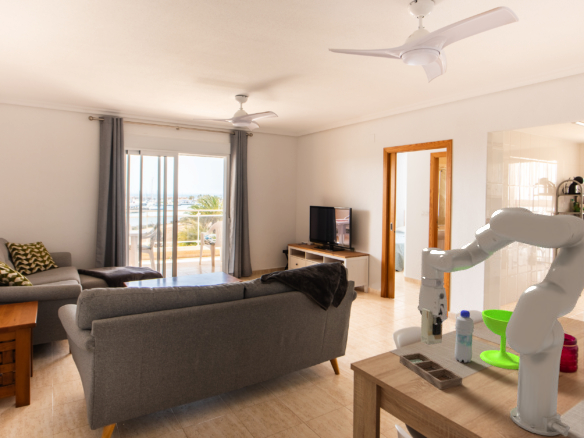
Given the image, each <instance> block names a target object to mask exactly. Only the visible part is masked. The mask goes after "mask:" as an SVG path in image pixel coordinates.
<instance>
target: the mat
mask: <svg viewBox="0 0 584 438" xmlns="http://www.w3.org/2000/svg"><path fill="white" fill-rule="evenodd" d="M409 361H411V362H412V363H417V362H422V360H420V359H415V360H409Z"/></svg>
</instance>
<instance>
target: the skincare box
mask: <svg viewBox="0 0 584 438" xmlns="http://www.w3.org/2000/svg"><path fill="white" fill-rule="evenodd" d="M437 319H438V317H437ZM420 320H421V322H420V342H422V343H424V344H425V345H437V344H443V323H442V324H441V334H440V335H433V334H432V331H433V324H434V320H433V315H431V311H429V310H427V309H424V308H422V315H421V319H420Z"/></svg>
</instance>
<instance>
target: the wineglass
mask: <svg viewBox="0 0 584 438" xmlns="http://www.w3.org/2000/svg"><path fill="white" fill-rule="evenodd" d="M512 313H513V311H511V310H506V309H493V308H492V309H491V308H490V309H484V310H482V311H481V317H482V320H483V323H484V325H485V326H486V328H487V329H488V330H489V331H491V332H492V333H494V334H495V335H498V336H500V345H499V348H500V349H499V350H497V349H496V350H495V349H491V350H490V349H489V350H484V351H482V352H481V353H479V358H480V359H481V360H482V361H483V362H484V361H485V362H484V363H486V364H489V365H490V366H493V367H497V368H501V369H506V370H514V371H515V370H519V358H520V355H516V354H514V353H512V352H509V351H506V349H507V339H506V328H507V325H508V322H509V320H510V318H511V315H512Z"/></svg>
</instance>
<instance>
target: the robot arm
mask: <svg viewBox="0 0 584 438" xmlns="http://www.w3.org/2000/svg"><path fill="white" fill-rule="evenodd" d="M474 234H475V235H474V236H475V239H474V240H472V241H471V242H470V243H468V244H466V245H464V246H463V247H460V248H455V249H448V250H447V249H446V250H443V249H442V248H439V247H425V248H423V249H422V250H421V277H420V279H421V283H420V288H419V293H418V294H419V295H418V306H417V310H418V312H419V313H420V316H422V308H424V309H427V310H429V311H431V315H433V320H434V324H433V331H432V334H433V335H440V334H441V324H442V325H443V322H445V321H446V320H448V316H447V315H448V298H447V291H446V288H445V287H444V285H445V282H444V280H445V279H444V277H445V276H444V275H445V274H444V273H455V272H458V271H460V272H461V271H467V270H469V269H471V268H473V267H475V266H477V265H479V264H481V263H482V262H484V261H485V260H486V261H487V259H489V258H490V257H492V256H493V255H494V254H495V253H496V252H498V251H500V250H502V249H503V248H505V247H508V246H509V245H511V244H512V243H515V242H517V243H521V244H524V245H525V244H526V245H530V246H534V247H538V248H542V249H543V248H544V249H558V248H559V252H558V253H557V254H556V256H555V258H554V259H553V260H552V262H551V264H550V266H549V269H548V271H547V273H546V275H545V277H544V279H543V280H542V281H540V282H539V283H535V284H532V285H530V286H528V287H526V289H524V290H523V292H522V293H521V295H520V296H519V297H518V299H517V303H516V305H515V306H514V309H513V311H512V312H513V313H512V315H511V318H510V320H509V322H508V325H507V328H506V343H507V344H508V345H509V347H510V349H512V350H513V351H514V352H516V353H518V354H519V357H520V358H519V369H518V373H517V374H518V377H517V392H516V393H517V396H516V397H517V398H516V406H515V407H513V408H512V409H511V410H510V412H509V413H510V414H509V415H510V419H511V420H512V422H513V423H515V424H516V425H517V426H519V428H522V429H523V430H526V431H529V432H530V433H533V434H536V435H541V436H549V437H551V436H552V437H555V436H557V435H562V436H564V437H568V436H569V433H570V432H569V431H570V425H568V424H567V423H564V422H562V420H561V414H560V413H558V398H559V397H558V396H559V395H558V393H559V392H558V391H559V378H560V377H559V376H560V366H561V365H560V364H561V356H562V350H563V347H564V341H565V330H564V327H563V325H562V323H561V322H560V320H559V318H561V317H564V316H567V315H568V314H570V313H571V312H572V311H574V309H575V307H576V304H577V303H578V300H579V299H580V296H581V295H582V292H583V290H584V219H583V218H581V217H579V216H576V215H572V214H557V215H556V214H555V215H548V214H547V215H546V214H540V213H533V212H532V211H531V210H530V209H528V208H525V207H518V206H517V207H516V206H513V207H512V206H511V207H502V208H499V209H497V210H496V211H494V212H493V213H492V214H491V216H490V218H489V221H488V223H487V224H485V225H483V226H482V227H479V228H478V229H477V230H476V231H475V233H474ZM437 317H438V319H437Z"/></svg>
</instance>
